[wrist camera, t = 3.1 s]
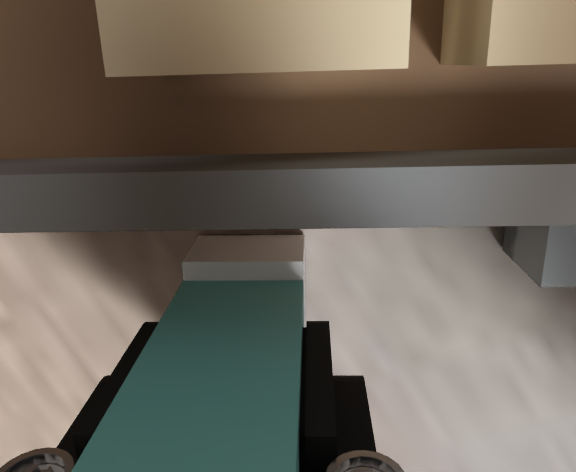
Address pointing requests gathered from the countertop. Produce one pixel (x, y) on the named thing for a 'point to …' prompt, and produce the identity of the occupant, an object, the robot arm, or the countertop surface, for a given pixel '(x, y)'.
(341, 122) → the channel board
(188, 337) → the teal block
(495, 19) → the beige block
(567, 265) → the tray
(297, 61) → the cream flat square block
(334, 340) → the countertop surface
